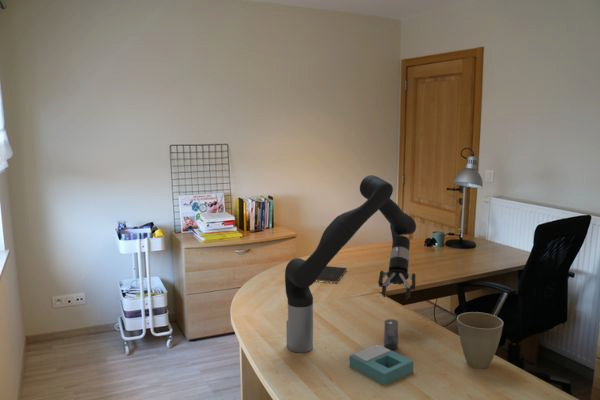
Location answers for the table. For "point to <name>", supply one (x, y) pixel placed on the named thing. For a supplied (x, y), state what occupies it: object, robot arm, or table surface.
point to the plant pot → (479, 337)
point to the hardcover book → (331, 274)
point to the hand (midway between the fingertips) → (395, 297)
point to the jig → (381, 364)
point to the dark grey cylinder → (391, 334)
